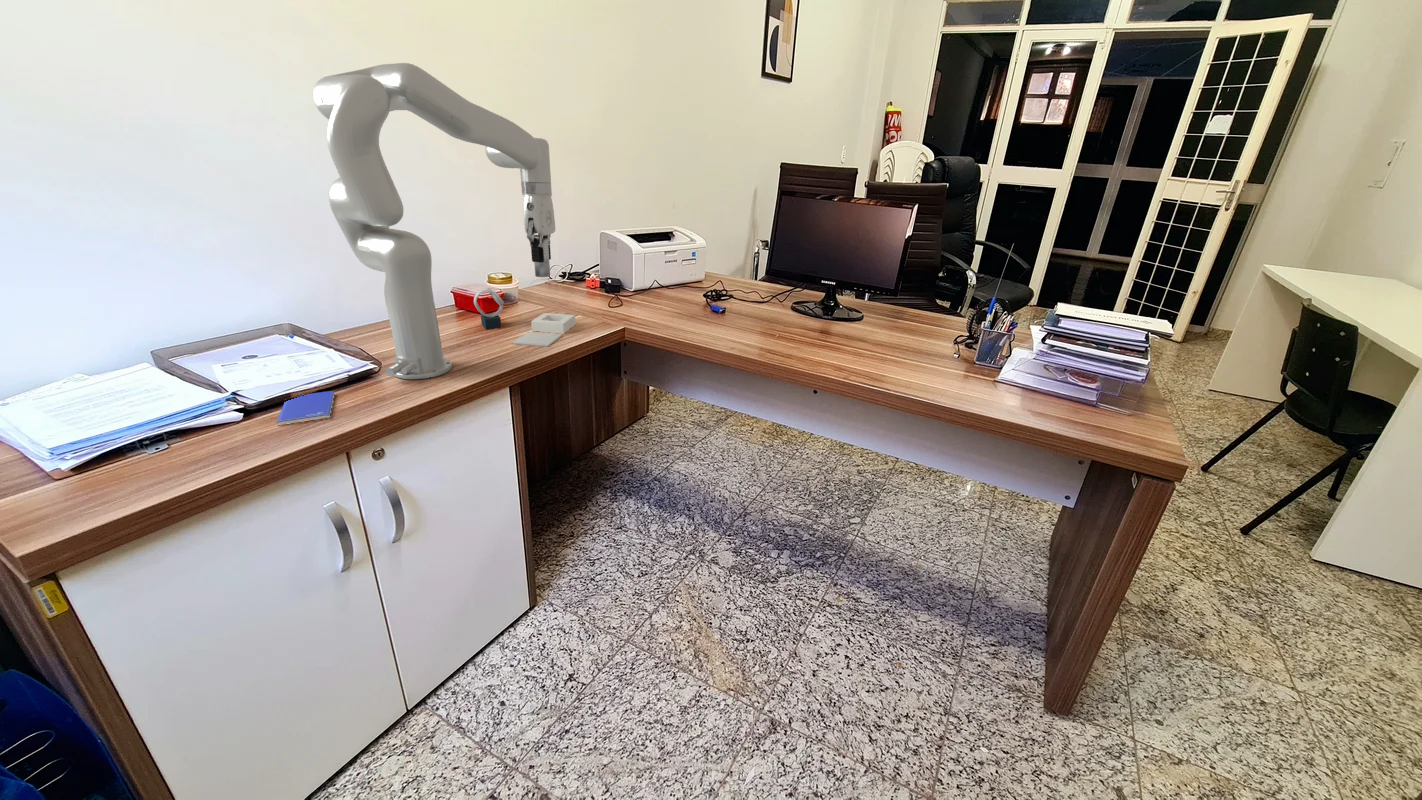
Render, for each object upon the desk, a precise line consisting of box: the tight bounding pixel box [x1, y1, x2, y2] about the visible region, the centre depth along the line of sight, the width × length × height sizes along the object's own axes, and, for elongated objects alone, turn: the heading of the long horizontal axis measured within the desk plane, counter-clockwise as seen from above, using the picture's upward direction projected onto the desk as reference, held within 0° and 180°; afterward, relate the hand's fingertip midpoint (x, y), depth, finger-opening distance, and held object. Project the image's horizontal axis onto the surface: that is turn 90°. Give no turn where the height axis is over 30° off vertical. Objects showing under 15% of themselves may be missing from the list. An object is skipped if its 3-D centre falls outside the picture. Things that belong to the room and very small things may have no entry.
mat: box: [511, 331, 562, 348], centre depth 153 cm, size 10×10×1 cm
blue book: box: [276, 390, 335, 425], centre depth 109 cm, size 2×8×12 cm
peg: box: [533, 237, 551, 278], centre depth 152 cm, size 4×4×10 cm
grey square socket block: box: [530, 312, 576, 335], centre depth 164 cm, size 10×10×3 cm
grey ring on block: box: [473, 288, 505, 330], centre depth 161 cm, size 6×8×11 cm
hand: (541, 260), depth 152 cm, fingers closed on peg, 4 cm apart
